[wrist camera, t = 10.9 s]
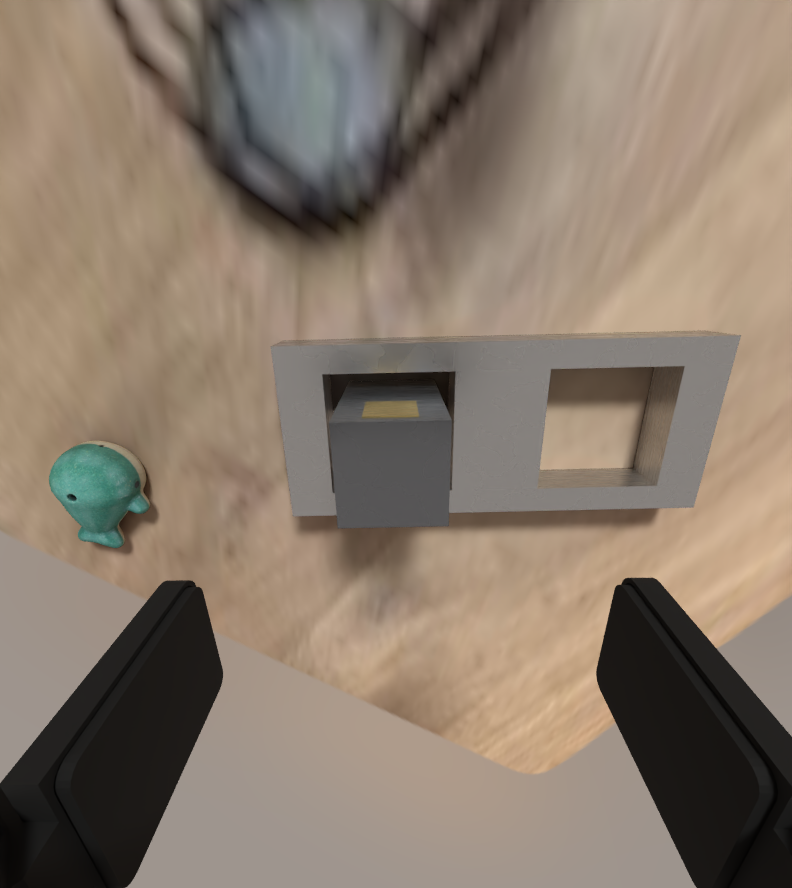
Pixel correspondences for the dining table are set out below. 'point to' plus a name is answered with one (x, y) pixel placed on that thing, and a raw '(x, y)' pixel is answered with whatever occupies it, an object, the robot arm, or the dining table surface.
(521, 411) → the rail
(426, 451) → the block
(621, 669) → the robot arm
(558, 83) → the dining table surface
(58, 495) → the whale figurine
